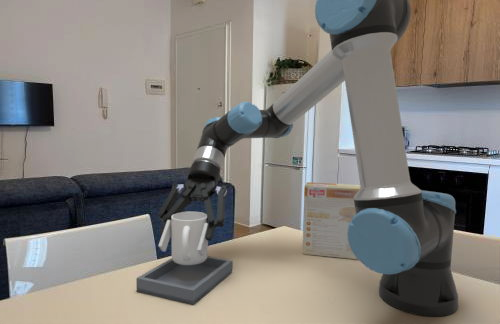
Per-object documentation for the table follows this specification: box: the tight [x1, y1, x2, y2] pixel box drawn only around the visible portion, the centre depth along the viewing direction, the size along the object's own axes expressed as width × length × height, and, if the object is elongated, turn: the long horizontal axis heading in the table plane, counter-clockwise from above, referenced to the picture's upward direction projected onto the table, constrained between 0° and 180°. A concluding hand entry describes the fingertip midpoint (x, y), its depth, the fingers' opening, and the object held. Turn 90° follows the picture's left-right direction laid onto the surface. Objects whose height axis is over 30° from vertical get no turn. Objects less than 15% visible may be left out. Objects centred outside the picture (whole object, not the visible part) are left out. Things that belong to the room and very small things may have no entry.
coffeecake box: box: [302, 182, 361, 261], centre depth 105 cm, size 15×7×20 cm, turn 76°
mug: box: [170, 210, 209, 265], centre depth 85 cm, size 12×8×10 cm
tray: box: [135, 255, 234, 306], centre depth 85 cm, size 14×18×3 cm
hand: (180, 250), depth 82 cm, fingers closed on mug, 8 cm apart
